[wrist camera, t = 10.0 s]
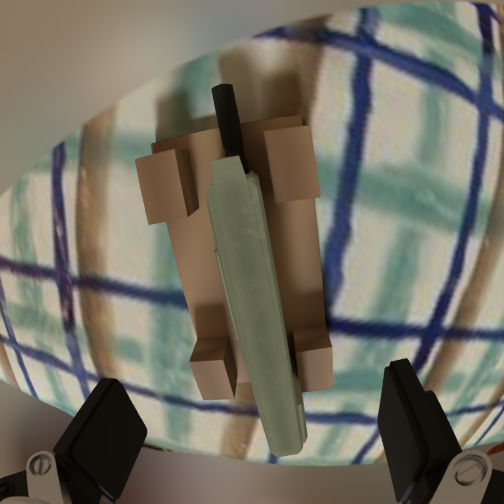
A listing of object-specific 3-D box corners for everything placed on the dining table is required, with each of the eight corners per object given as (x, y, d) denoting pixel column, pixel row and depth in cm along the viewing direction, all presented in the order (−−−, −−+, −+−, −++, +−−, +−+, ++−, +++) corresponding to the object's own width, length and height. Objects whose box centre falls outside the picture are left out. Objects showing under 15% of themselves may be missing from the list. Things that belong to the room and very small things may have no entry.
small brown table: (299, 116, 18) (306, 107, 15) (325, 365, 24) (332, 396, 21) (155, 144, 19) (132, 142, 16) (213, 377, 25) (206, 408, 22)
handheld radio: (264, 400, 25) (197, 95, 17) (300, 394, 25) (247, 85, 17) (265, 458, 18) (169, 68, 11) (310, 452, 18) (243, 50, 11)
